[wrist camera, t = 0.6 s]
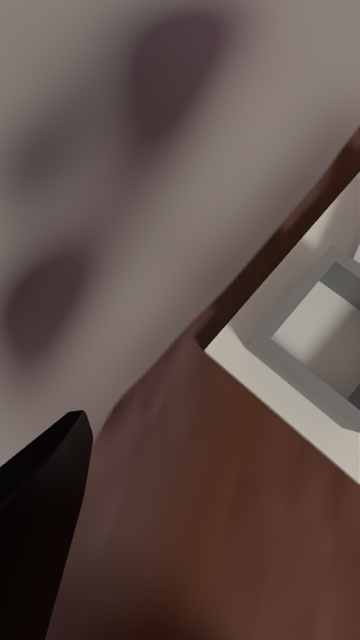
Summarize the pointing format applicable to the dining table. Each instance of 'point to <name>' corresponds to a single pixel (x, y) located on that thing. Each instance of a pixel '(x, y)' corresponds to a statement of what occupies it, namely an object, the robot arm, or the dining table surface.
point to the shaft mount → (307, 336)
